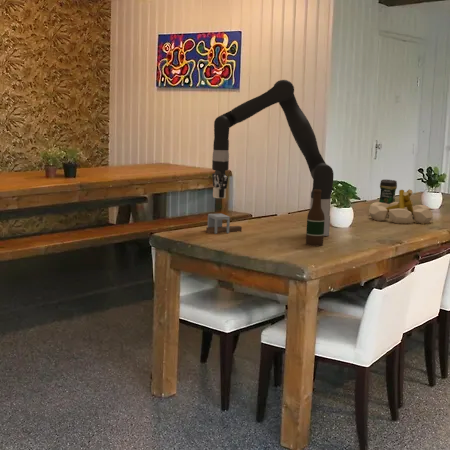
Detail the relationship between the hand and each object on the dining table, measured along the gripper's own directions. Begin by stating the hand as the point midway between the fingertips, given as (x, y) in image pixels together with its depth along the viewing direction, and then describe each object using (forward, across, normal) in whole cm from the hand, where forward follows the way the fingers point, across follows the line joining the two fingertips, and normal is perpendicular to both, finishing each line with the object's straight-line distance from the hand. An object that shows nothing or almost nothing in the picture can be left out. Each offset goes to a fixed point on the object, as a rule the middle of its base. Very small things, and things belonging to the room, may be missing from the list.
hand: (219, 196), depth 315 cm
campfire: (+17, -14, +114) cm, 116 cm away
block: (0, 0, 0) cm, 0 cm away
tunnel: (+16, 0, 0) cm, 16 cm away
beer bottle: (+17, +37, +30) cm, 50 cm away
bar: (+17, +1, +2) cm, 17 cm away
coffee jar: (+17, -41, +125) cm, 133 cm away
